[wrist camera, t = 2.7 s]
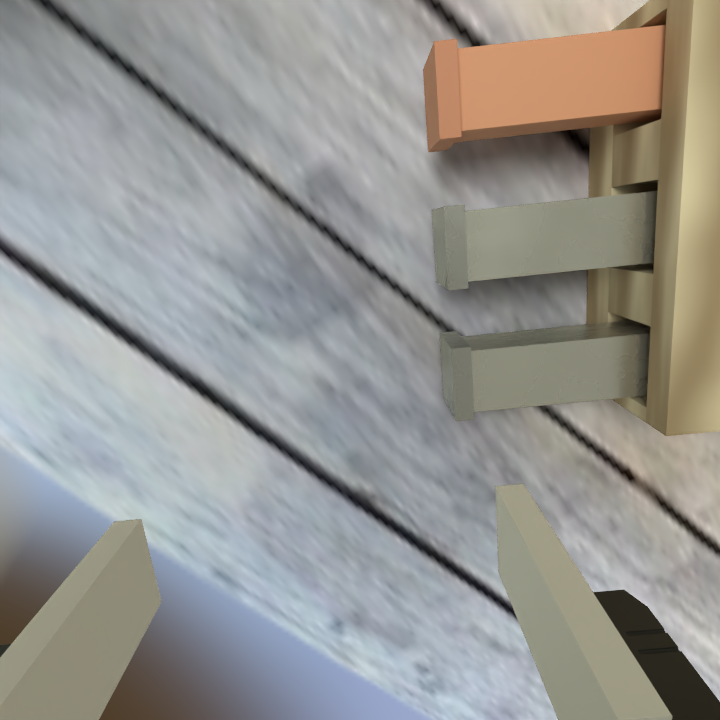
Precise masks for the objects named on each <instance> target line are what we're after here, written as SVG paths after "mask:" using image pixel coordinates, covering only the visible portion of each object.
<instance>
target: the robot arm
mask: <svg viewBox="0 0 720 720" xmlns="http://www.w3.org/2000/svg"><path fill="white" fill-rule="evenodd" d="M495 488H496V516H497V543H498V571H499V574H500V577H501V579H502V582H503V584H504V587H505V589H506V592H507V594H508V597H509V599H510V602H511V604H512V607H513V609H514V612H515V614H516V616H517V619H518V621H519V624H520V626H521V629H522V631H523V634H524V636H525V639H526V641H527V644H528V646H529V649H530V651H531V654H532V656H533V659H534V661H535V664H536V666H537V668H538V671H539V673H540V676H541V678H542V681H543V683H544V686H545V688H546V691H547V693H548V696H549V698H550V701H551V703H552V706H553V708H554V711H555V713H556V716H557V718H558V720H720V702H719V700H718V699H717V698H716V696H715V695H714V694H713V692H712V691H711V690H710V688H709V687H708V686H707V684H706V683H705V682H704V681H703V679H702V678H701V677H700V675H699V674H698V673H697V671H696V670H695V669H694V667H693V666H692V665H691V663H690V662H689V661H688V659H687V658H686V657H685V656H684V654H683V653H682V652H680V651H679V650H678V646H677V645H676V644H675V642H674V641H673V640H672V638H671V637H670V636H669V635H668V633H665V631H664V628H663V627H662V625H661V624H660V623H659V621H658V620H657V619H656V617H655V616H654V615H653V613H652V612H651V611H650V610H649V608H648V607H647V606H645V605H644V604H643V603H641V602H640V601H639V600H637V599H636V598H635V597H633V596H632V595H630V594H629V593H628V592H626V591H625V590H615V591H604V592H593V591H592V590H591V588H590V587H589V585H588V584H587V582H586V581H585V579H584V577H583V576H582V574H581V573H580V571H579V570H578V568H577V567H576V565H575V563H574V562H573V560H572V559H571V557H570V556H569V554H568V552H567V551H566V549H565V548H564V546H563V545H562V543H561V542H560V540H559V538H558V537H557V535H556V534H555V532H554V531H553V529H552V528H551V526H550V524H549V523H548V521H547V520H546V518H545V517H544V515H543V513H542V512H541V510H540V509H539V507H538V506H537V504H536V503H535V501H534V499H533V498H532V496H531V495H530V493H529V492H528V490H527V489H526V487H525V485H524V484H516V485H505V486H495ZM160 603H161V597H160V593H159V589H158V585H157V581H156V577H155V573H154V569H153V565H152V561H151V557H150V553H149V549H148V544H147V540H146V536H145V532H144V528H143V524H142V520H141V519H137V520H126V521H115V522H114V523H113V524H112V525H111V526H110V527H109V529H108V530H107V531H106V532H105V533H104V535H103V536H102V537H101V538H100V540H98V542H97V543H96V544H95V545H94V546H93V548H92V549H91V550H90V551H89V553H88V554H87V555H86V556H85V557H84V558H83V560H82V561H81V562H80V563H79V564H78V565H77V567H76V568H75V569H74V570H73V572H72V573H71V574H70V575H69V576H68V577H67V579H66V580H65V581H64V582H63V584H62V585H61V586H60V587H59V588H58V589H57V591H56V592H55V593H54V594H53V595H52V597H51V598H50V599H49V600H48V601H47V603H46V604H45V605H44V606H43V607H42V608H41V610H40V611H39V612H38V613H37V614H36V616H35V617H34V618H33V619H32V620H31V621H30V623H29V624H28V625H27V626H26V627H25V629H24V630H23V631H22V632H21V634H20V635H19V636H18V637H17V638H16V639H15V641H14V642H13V643H12V644H8V645H0V720H99V718H100V716H101V714H102V712H103V711H104V708H105V707H106V705H107V703H108V701H109V699H110V697H111V695H112V694H113V692H114V690H115V688H116V686H117V684H118V682H119V680H120V679H121V677H122V675H123V673H124V671H125V669H126V667H127V665H128V664H129V662H130V660H131V658H132V656H133V654H134V652H135V650H136V649H137V647H138V645H139V643H140V641H141V639H142V637H143V635H144V633H145V632H146V630H147V628H148V626H149V624H150V622H151V620H152V619H153V617H154V615H155V613H156V611H157V609H158V607H159V605H160Z"/></svg>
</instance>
